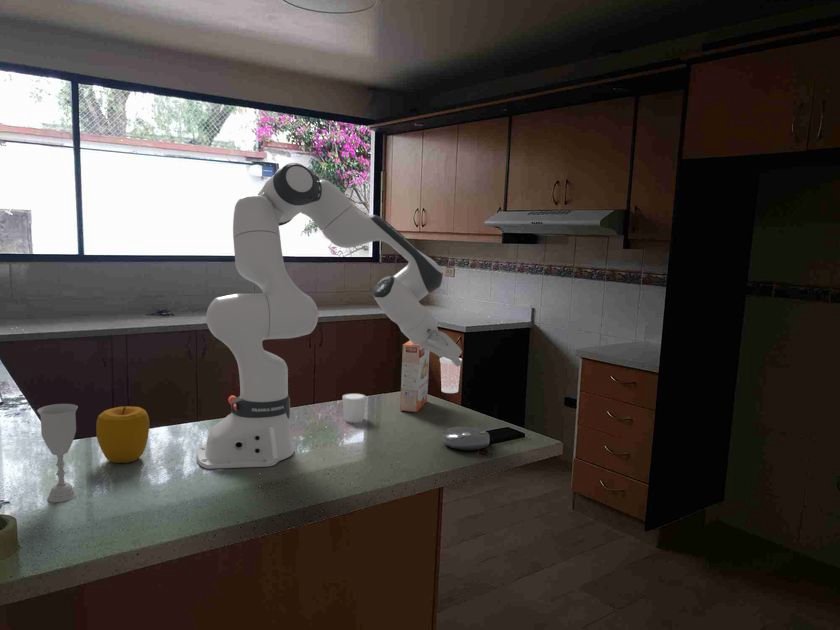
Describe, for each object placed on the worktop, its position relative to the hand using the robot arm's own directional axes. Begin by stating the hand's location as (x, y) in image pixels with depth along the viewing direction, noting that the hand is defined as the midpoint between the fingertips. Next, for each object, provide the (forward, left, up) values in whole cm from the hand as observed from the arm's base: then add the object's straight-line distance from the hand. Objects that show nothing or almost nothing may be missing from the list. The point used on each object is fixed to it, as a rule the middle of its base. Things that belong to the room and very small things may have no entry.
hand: (452, 361), depth 167 cm
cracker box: (-1, +25, -20) cm, 32 cm away
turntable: (-1, -12, -20) cm, 23 cm away
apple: (-82, +1, -20) cm, 84 cm away
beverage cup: (-1, 0, -8) cm, 8 cm away
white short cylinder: (-23, +17, -20) cm, 35 cm away
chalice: (-92, -16, -20) cm, 95 cm away
